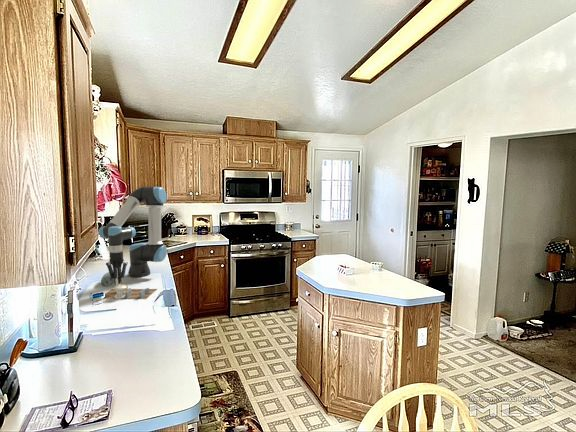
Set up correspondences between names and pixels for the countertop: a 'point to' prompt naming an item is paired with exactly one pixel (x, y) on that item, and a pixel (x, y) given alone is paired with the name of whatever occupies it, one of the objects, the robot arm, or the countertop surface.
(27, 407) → the countertop surface
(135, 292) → the board
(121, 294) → the bobbin
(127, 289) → the tab
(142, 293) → the notch block
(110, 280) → the spool
